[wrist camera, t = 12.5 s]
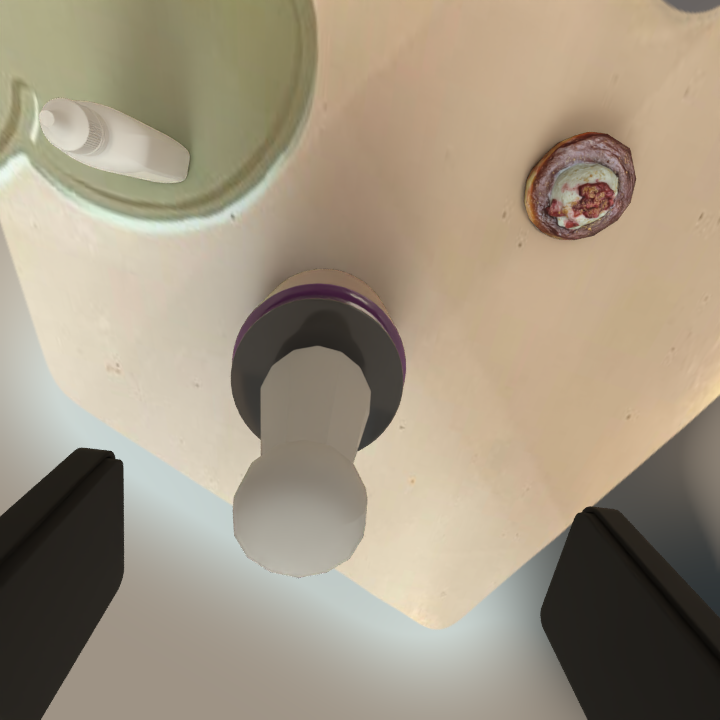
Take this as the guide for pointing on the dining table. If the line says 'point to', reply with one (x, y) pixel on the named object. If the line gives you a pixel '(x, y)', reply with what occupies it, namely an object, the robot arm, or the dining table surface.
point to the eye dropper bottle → (113, 141)
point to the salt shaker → (306, 466)
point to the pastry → (580, 186)
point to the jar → (321, 341)
